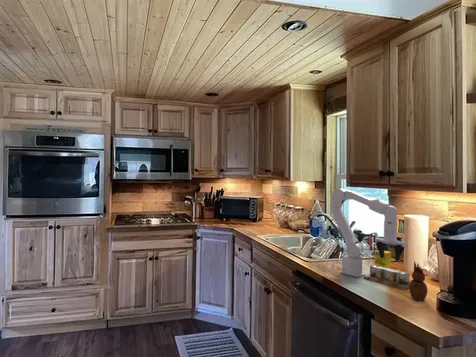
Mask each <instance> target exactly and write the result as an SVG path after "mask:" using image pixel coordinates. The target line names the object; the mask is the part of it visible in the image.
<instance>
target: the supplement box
mask: <svg viewBox="0 0 476 357" xmlns="http://www.w3.org/2000/svg"><path fill="white" fill-rule="evenodd" d="M374 265H377V266H380V267H384V268H385V267H389V269H391V267H392V266H391V265H392V252H391V251H388V250H384V258H380V253H379V250H376V251H375V253H374Z"/></svg>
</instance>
